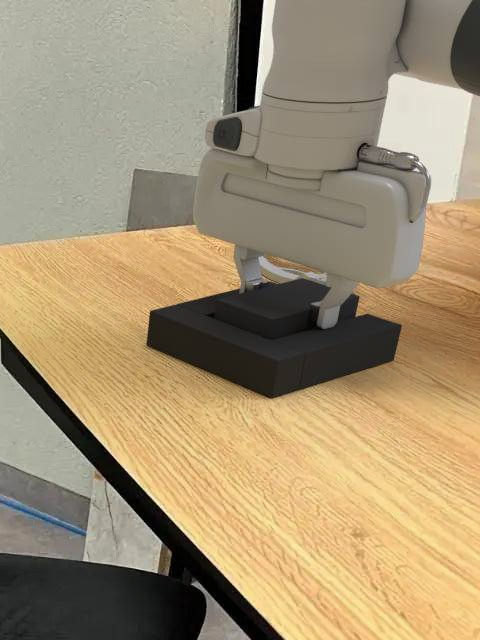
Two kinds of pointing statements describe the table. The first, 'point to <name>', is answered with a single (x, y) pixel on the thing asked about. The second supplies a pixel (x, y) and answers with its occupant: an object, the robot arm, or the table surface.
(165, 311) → the black u-shaped frame
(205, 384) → the table surface
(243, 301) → the black block
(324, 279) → the pliers
